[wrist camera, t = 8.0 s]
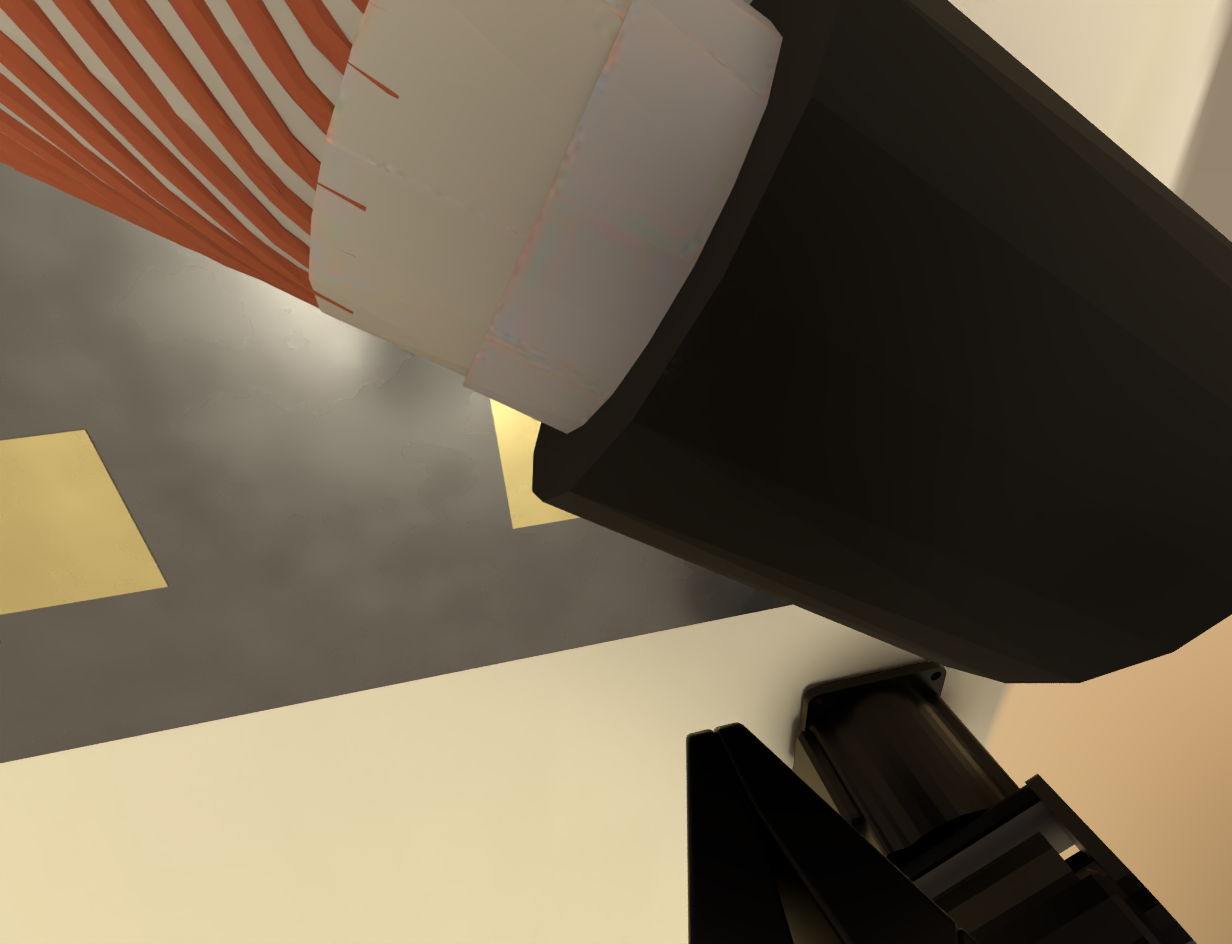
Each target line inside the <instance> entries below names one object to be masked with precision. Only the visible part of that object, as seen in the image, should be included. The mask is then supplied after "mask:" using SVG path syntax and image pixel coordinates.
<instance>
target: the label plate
mask: <svg viewBox="0 0 1232 944" xmlns="http://www.w3.org/2000/svg"><path fill="white" fill-rule="evenodd" d="M744 1H745V2H746V3H748V4H749V5H750V3H751V2H752V1H753V0H744ZM465 379H466V377H464V376H462V375H460V374H458V373H456V372H453V371H451V370H449V369H447V368H445V367H442V366H440V365H438V364H436V363H433V362H431V361H429V360H427V359H425V358H422V357H420V356H418V355H416V354H413V353H411V352H409V351H407V350H405V349H402V348H400V347H398V346H396V345H393V344H391V343H389V342H387V341H385V340H382V339H380V338H378V337H376V336H373V335H371V334H369V333H367V332H365V331H362V330H360V329H358V328H356V327H353V326H351V325H349V324H347V323H345V322H342V321H340V320H338V319H336V318H333V317H331V316H329V315H327V314H325V313H322V312H321V311H320V309H319V308H317V307H315V306H313V305H311V304H308V303H306V302H304V301H302V300H300V299H298V298H296V297H294V296H292V295H290V294H288V293H286V292H284V291H282V290H280V289H278V288H275V287H273V286H271V285H269V284H267V283H265V282H263V281H261V280H259V279H256V278H254V277H251V276H249V275H246V274H244V273H241V272H239V271H236V270H234V269H231V268H229V267H226V266H224V265H222V264H220V263H218V262H216V261H214V260H212V259H210V258H208V257H206V256H204V255H202V254H200V253H198V252H195V251H193V250H190V249H188V248H185V247H183V246H181V245H179V244H177V243H174V242H172V241H170V240H168V239H166V238H164V237H161V236H159V235H157V234H155V233H153V232H150V231H148V230H146V229H144V228H142V227H139V226H137V225H135V224H133V223H131V222H129V221H127V220H125V219H123V218H121V217H119V216H116V215H114V214H112V213H110V212H108V211H105V210H103V209H101V208H99V207H96V206H94V205H92V204H90V203H88V202H85V201H83V200H81V199H79V198H77V197H74V196H72V195H70V194H68V193H66V192H63V191H61V190H59V189H57V188H55V187H53V186H51V185H48V184H46V183H44V182H42V181H39V180H37V179H35V178H32V177H30V176H27V175H25V174H23V173H20V172H18V171H16V170H14V168H13V167H11V166H9V165H6V164H4V163H2V162H0V763H4V762H9V761H14V760H19V759H24V758H29V757H34V756H39V755H44V754H49V753H54V752H59V751H64V750H69V749H74V748H79V747H84V746H89V745H94V744H99V743H104V742H109V741H114V740H118V739H123V738H128V737H133V736H138V735H143V734H148V733H153V732H158V731H163V730H168V729H173V728H178V727H183V726H188V725H193V724H198V723H203V722H208V721H213V720H218V719H223V718H228V717H233V716H238V715H243V714H248V713H253V712H258V711H263V710H268V709H273V708H278V707H283V706H288V705H293V704H298V703H303V702H308V701H313V700H318V699H323V698H328V697H333V696H338V695H343V694H348V693H353V692H358V691H363V690H368V689H373V688H378V687H383V686H388V685H393V684H398V683H403V682H408V681H413V680H418V679H423V678H428V677H433V676H438V675H443V674H448V673H453V672H458V671H463V670H468V669H473V668H478V667H483V666H488V665H493V664H498V663H503V662H508V661H513V660H518V659H523V658H528V657H533V656H538V655H543V654H548V653H553V652H558V651H563V650H568V649H573V648H578V647H583V646H588V645H593V644H598V643H603V642H608V641H613V640H618V639H623V638H628V637H633V636H638V635H643V634H648V633H653V632H658V631H663V630H668V629H673V628H678V627H683V626H688V625H693V624H698V623H703V622H708V621H713V620H718V619H723V618H728V617H733V616H738V615H743V614H748V613H753V612H758V611H763V610H768V609H773V608H778V607H783V606H788V605H793V604H791V603H788V602H786V601H783V600H781V599H779V598H776V597H774V596H771V595H769V594H766V593H764V592H761V591H759V590H757V589H754V588H752V587H749V586H747V585H744V584H742V583H740V582H737V581H735V580H732V579H730V578H727V577H725V576H722V575H720V574H718V573H715V572H713V571H710V570H708V569H705V568H703V567H700V566H698V565H696V564H693V563H691V562H688V561H686V560H683V559H681V558H678V557H676V556H674V555H671V554H669V553H666V552H664V551H661V550H659V549H656V548H654V547H652V546H649V545H647V544H644V543H642V542H639V541H637V540H634V539H632V538H630V537H627V536H625V535H622V534H620V533H617V532H615V531H612V530H610V529H608V528H605V527H603V526H600V525H598V524H595V523H593V522H590V521H588V520H586V519H583V518H581V517H578V516H576V515H573V514H571V513H568V512H566V511H564V510H561V509H559V508H556V507H554V506H551V505H549V504H546V503H544V502H542V501H541V500H540V499H539V498H538V497H537V496H536V495H535V494H534V493H533V492H532V476H533V452H534V448H535V444H536V440H537V436H538V433H539V429H540V425H541V422H540V421H538V420H536V419H534V418H532V417H529V416H527V415H525V414H523V413H521V412H519V411H516V410H514V409H512V408H510V407H508V406H506V405H504V404H501V403H499V402H497V401H495V400H493V399H491V398H488V397H486V396H484V395H482V394H480V393H478V392H475V391H473V390H471V389H469V388H467V387H465V386H463V383H464V381H465Z"/></svg>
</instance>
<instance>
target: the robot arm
mask: <svg viewBox="0 0 1232 944" xmlns="http://www.w3.org/2000/svg"><path fill="white" fill-rule="evenodd" d="M945 677H946V669H945V668H944V667H943V666H942V665H940V664H937V663H935V662H933V661H930V662H925V663H921V664H916V665H912V666H907V667H903V668H898V669H894V670H889V671H885V672H880V673H876V674H871V675H867V676H862V677H858V678H854V679H849V680H845V681H840V682H836V683H831V684H827V685H822V686H818V687H814V688H811V689H810V690H808V691H807V692H806V693H805V695H804V697H803V705H802V714H801V722H800V731H799V734H798V736H797V739H796V748H795V757H794V766H793V771H792V770H791V769H790V768H789V767H788V766H787V765H786V764H785V763H784V762H783V761H782V760H781V759H779V758H778V757H777V756H776V755H775V754H774V753H773V752H772V751H771V750H770V749H769V748H768V747H767V746H765V745H764V744H763V743H762V742H761V741H760V740H759V739H758V738H757V737H756V736H755V735H754V734H753V733H751V732H750V731H749V730H748V729H747V728H746V727H745V726H744V725H742V724H740V723H732V724H728V725H724V726H719V727H717V728H715V729H714V732H713V731H712V730H709V729H707V730H703V731H699V732H695V733H691V734H688V735H687V737H686V770H687V856H688V942H689V944H1196V943H1195V941H1194V940H1193V939H1192V938H1191V937H1190V936H1189V934H1188V933H1187V932H1186V931H1185V930H1184V929H1183V928H1182V927H1181V926H1180V924H1179V923H1178V922H1177V921H1176V920H1175V919H1174V918H1173V917H1172V916H1171V914H1170V913H1169V912H1168V911H1167V910H1166V909H1165V908H1164V907H1163V905H1161V903H1160V902H1159V901H1158V900H1157V899H1156V898H1155V897H1154V896H1153V895H1152V894H1151V892H1149V890H1148V889H1147V888H1146V887H1145V886H1144V885H1143V884H1142V883H1141V882H1140V881H1139V880H1138V879H1137V877H1136V876H1135V875H1134V874H1133V873H1132V872H1131V871H1130V870H1129V869H1128V868H1127V867H1126V866H1125V865H1124V864H1123V863H1122V862H1121V861H1120V859H1118V857H1117V856H1116V855H1115V854H1114V853H1113V852H1112V851H1111V850H1110V849H1109V848H1108V847H1107V846H1106V845H1105V844H1104V843H1103V842H1102V841H1101V840H1100V839H1099V838H1098V837H1097V835H1096V834H1095V833H1094V832H1093V831H1092V830H1091V829H1090V828H1089V827H1088V826H1087V825H1086V824H1085V823H1084V822H1083V821H1082V820H1081V819H1080V818H1079V817H1078V815H1077V814H1076V813H1075V812H1074V811H1073V810H1072V809H1071V808H1070V807H1069V806H1068V805H1067V804H1066V803H1065V802H1064V801H1063V800H1062V799H1061V798H1060V797H1059V796H1058V794H1057V793H1056V792H1055V791H1054V790H1053V789H1052V788H1051V787H1050V786H1049V785H1048V784H1047V783H1046V782H1045V781H1044V780H1043V779H1042V778H1041V777H1040V776H1039V775H1038V774H1036V775H1035V776H1033V777H1032V778H1030V779H1028V780H1027V781H1025V783H1026V784H1027V785H1025V786H1024V787H1022V788H1019V787H1018V786H1017V785H1016V784H1015V782H1014V781H1013V780H1012V779H1011V778H1010V777H1009V776H1008V774H1007V773H1006V772H1005V771H1004V770H1003V769H1002V767H1001V766H1000V765H999V764H998V763H997V762H996V761H995V760H994V758H993V757H992V756H991V755H990V754H989V752H988V751H987V750H986V749H985V748H984V747H983V746H982V744H981V743H980V742H979V741H978V740H977V739H976V737H975V736H974V735H973V734H972V733H971V732H970V731H969V729H968V728H967V727H966V726H965V725H964V724H963V722H962V721H961V720H960V719H959V718H958V717H957V716H956V714H955V713H954V712H953V711H952V710H951V709H950V707H949V706H948V705H947V704H946V703H945V702H944V701H943V699H942V698H941V697H940V695H941V692H942V688H943V684H944V680H945ZM1074 844H1075V845H1076V846H1077V848H1078V849H1079V850H1080V851H1079V852H1077V853H1076V854H1074V855H1072V856H1071V857H1069V858H1068V859H1066V860H1063V858H1062V857H1061V856H1060V855H1059V853H1061V852H1063V851H1064V850H1066V849H1068V848H1069V847H1071V846H1073V845H1074Z"/></svg>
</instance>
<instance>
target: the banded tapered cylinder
mask: <svg viewBox="0 0 1232 944" xmlns="http://www.w3.org/2000/svg"><path fill="white" fill-rule="evenodd" d="M0 162H2V163H4V164H6V165H9V166H11V167H13V168H14V170H16V171H18V172H20V173H23V174H25V175H27V176H30V177H32V178H35V179H37V180H39V181H42V182H44V183H46V184H48V185H51V186H53V187H55V188H57V189H59V190H61V191H63V192H66V193H68V194H70V195H72V196H74V197H77V198H79V199H81V200H83V201H85V202H88V203H90V204H92V205H94V206H96V207H99V208H101V209H103V210H105V211H108V212H110V213H112V214H114V215H116V216H119V217H121V218H123V219H125V220H127V221H129V222H131V223H133V224H135V225H137V226H139V227H142V228H144V229H146V230H148V231H150V232H153V233H155V234H157V235H159V236H161V237H164V238H166V239H168V240H170V241H172V242H174V243H177V244H179V245H181V246H183V247H185V248H188V249H190V250H193V251H195V252H198V253H200V254H202V255H204V256H206V257H208V258H210V259H212V260H214V261H216V262H218V263H220V264H222V265H224V266H226V267H229V268H231V269H234V270H236V271H239V272H241V273H244V274H246V275H249V276H251V277H254V278H256V279H259V280H261V281H263V282H265V283H267V284H269V285H271V286H273V287H275V288H278V289H280V290H282V291H284V292H286V293H288V294H290V295H292V296H294V297H296V298H298V299H300V300H302V301H304V302H306V303H308V304H311V305H313V306H315V307H317V308H319V309H320V311H321V312H322V313H325V314H327V315H329V316H331V317H333V318H336V319H338V320H340V321H342V322H345V323H347V324H349V325H351V326H353V327H356V328H358V329H360V330H362V331H365V332H367V333H369V334H371V335H373V336H376V337H378V338H380V339H382V340H385V341H387V342H389V343H391V344H393V345H396V346H398V347H400V348H402V349H405V350H407V351H409V352H411V353H413V354H416V355H418V356H420V357H422V358H425V359H427V360H429V361H431V362H433V363H436V364H438V365H440V366H442V367H445V368H447V369H449V370H451V371H453V372H456V373H458V374H460V375H462V376H464V377H466V379H465V381H464V383H463V386H465V387H467V388H469V389H471V390H473V391H475V392H478V393H480V394H482V395H484V396H486V397H488V398H491V399H493V400H495V401H497V402H499V403H501V404H504V405H506V406H508V407H510V408H512V409H514V410H516V411H519V412H521V413H523V414H525V415H527V416H529V417H532V418H534V419H536V420H538V421H540V422H541V425H540V429H539V433H538V436H537V440H536V444H535V448H534V452H533V476H532V492H533V493H534V494H535V495H536V496H537V497H538V498H539V499H540V500H541V501H542V502H544V503H546V504H549V505H551V506H554V507H556V508H559V509H561V510H564V511H566V512H568V513H571V514H573V515H576V516H578V517H581V518H583V519H586V520H588V521H590V522H593V523H595V524H598V525H600V526H603V527H605V528H608V529H610V530H612V531H615V532H617V533H620V534H622V535H625V536H627V537H630V538H632V539H634V540H637V541H639V542H642V543H644V544H647V545H649V546H652V547H654V548H656V549H659V550H661V551H664V552H666V553H669V554H671V555H674V556H676V557H678V558H681V559H683V560H686V561H688V562H691V563H693V564H696V565H698V566H700V567H703V568H705V569H708V570H710V571H713V572H715V573H718V574H720V575H722V576H725V577H727V578H730V579H732V580H735V581H737V582H740V583H742V584H744V585H747V586H749V587H752V588H754V589H757V590H759V591H761V592H764V593H766V594H769V595H771V596H774V597H776V598H779V599H781V600H783V601H786V602H788V603H791V604H793V605H796V606H798V607H801V608H803V609H805V610H808V611H810V612H813V613H815V614H818V615H820V616H823V617H825V618H827V619H830V620H832V621H835V622H837V623H840V624H842V625H845V626H847V627H849V628H852V629H854V630H857V631H859V632H862V633H864V634H867V635H869V636H871V637H874V638H876V639H879V640H881V641H884V642H886V643H889V644H891V645H893V646H896V647H898V648H901V649H903V650H906V651H908V652H911V653H913V654H915V655H918V656H920V657H923V658H925V659H928V660H930V661H933V662H935V663H937V664H940V665H943V666H946V667H950V668H954V669H957V670H961V671H964V672H968V673H971V674H975V675H978V676H982V677H986V678H989V679H993V680H996V681H1000V682H1003V683H1081V682H1084V681H1087V680H1090V679H1093V678H1096V677H1099V676H1102V675H1105V674H1108V673H1111V672H1114V671H1117V670H1120V669H1123V668H1126V667H1129V666H1132V665H1135V664H1139V663H1142V662H1145V661H1148V660H1151V659H1154V658H1157V657H1160V656H1162V655H1166V654H1169V653H1172V652H1174V651H1176V650H1177V649H1179V648H1180V647H1182V646H1183V645H1185V644H1186V643H1188V642H1190V641H1191V640H1193V639H1194V638H1196V637H1197V636H1199V635H1200V634H1202V633H1203V632H1205V631H1206V630H1208V629H1210V628H1211V627H1213V626H1214V625H1216V624H1217V623H1219V622H1220V621H1222V620H1224V619H1225V618H1227V617H1228V616H1230V615H1231V614H1232V242H1231V241H1229V240H1228V239H1227V238H1226V237H1225V236H1224V235H1222V234H1221V233H1220V232H1219V231H1218V230H1216V229H1215V228H1214V227H1213V226H1212V225H1210V224H1209V223H1208V222H1207V221H1206V220H1205V219H1203V218H1202V217H1201V216H1200V215H1199V214H1198V213H1196V212H1195V211H1194V210H1193V209H1192V208H1191V207H1189V206H1188V205H1187V204H1186V203H1185V202H1184V201H1182V200H1181V199H1180V198H1179V197H1178V196H1177V195H1175V194H1174V193H1173V192H1172V191H1171V190H1170V189H1168V188H1167V187H1166V186H1165V185H1164V184H1162V183H1161V182H1160V181H1159V180H1158V179H1157V178H1155V177H1154V176H1153V175H1152V174H1151V173H1150V172H1148V171H1147V170H1146V169H1145V168H1144V167H1143V166H1141V165H1140V164H1139V163H1138V162H1137V161H1135V160H1134V159H1133V158H1132V157H1131V156H1130V155H1128V154H1127V153H1126V152H1125V151H1124V150H1123V149H1121V148H1120V147H1119V146H1118V145H1117V144H1116V143H1114V142H1113V141H1112V140H1111V139H1110V138H1108V137H1107V136H1106V135H1105V134H1104V133H1103V132H1101V131H1100V130H1099V129H1098V128H1097V127H1096V126H1094V125H1093V124H1092V123H1091V122H1090V121H1089V120H1087V119H1086V118H1085V117H1084V116H1083V115H1082V114H1080V113H1079V112H1078V111H1077V110H1076V109H1074V108H1073V107H1072V106H1071V105H1070V104H1069V103H1067V102H1066V101H1065V100H1064V99H1063V98H1062V97H1060V96H1059V95H1058V94H1057V93H1056V92H1055V91H1053V90H1052V89H1051V88H1050V87H1049V86H1047V85H1046V84H1045V83H1044V82H1043V81H1042V80H1040V79H1039V78H1038V77H1037V76H1036V75H1035V74H1033V73H1032V72H1031V71H1030V70H1029V69H1028V68H1026V67H1025V66H1024V65H1023V64H1022V63H1020V62H1019V61H1018V60H1017V59H1016V58H1015V57H1013V56H1012V55H1011V54H1010V53H1009V52H1008V51H1006V50H1005V49H1004V48H1003V47H1002V46H1001V45H999V44H998V43H997V42H996V41H995V40H993V39H992V38H991V37H990V36H989V35H988V34H986V33H985V32H984V31H983V30H982V29H981V28H979V27H978V26H977V25H976V24H975V23H974V22H972V21H971V20H970V19H969V18H968V17H966V16H965V15H964V14H963V13H962V12H961V11H959V10H958V9H957V8H956V7H955V6H954V5H952V4H951V3H950V2H949V1H948V0H753V1H752V2H751V3H750V5H749V4H748V3H746V2H745V1H744V0H0Z"/></svg>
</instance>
